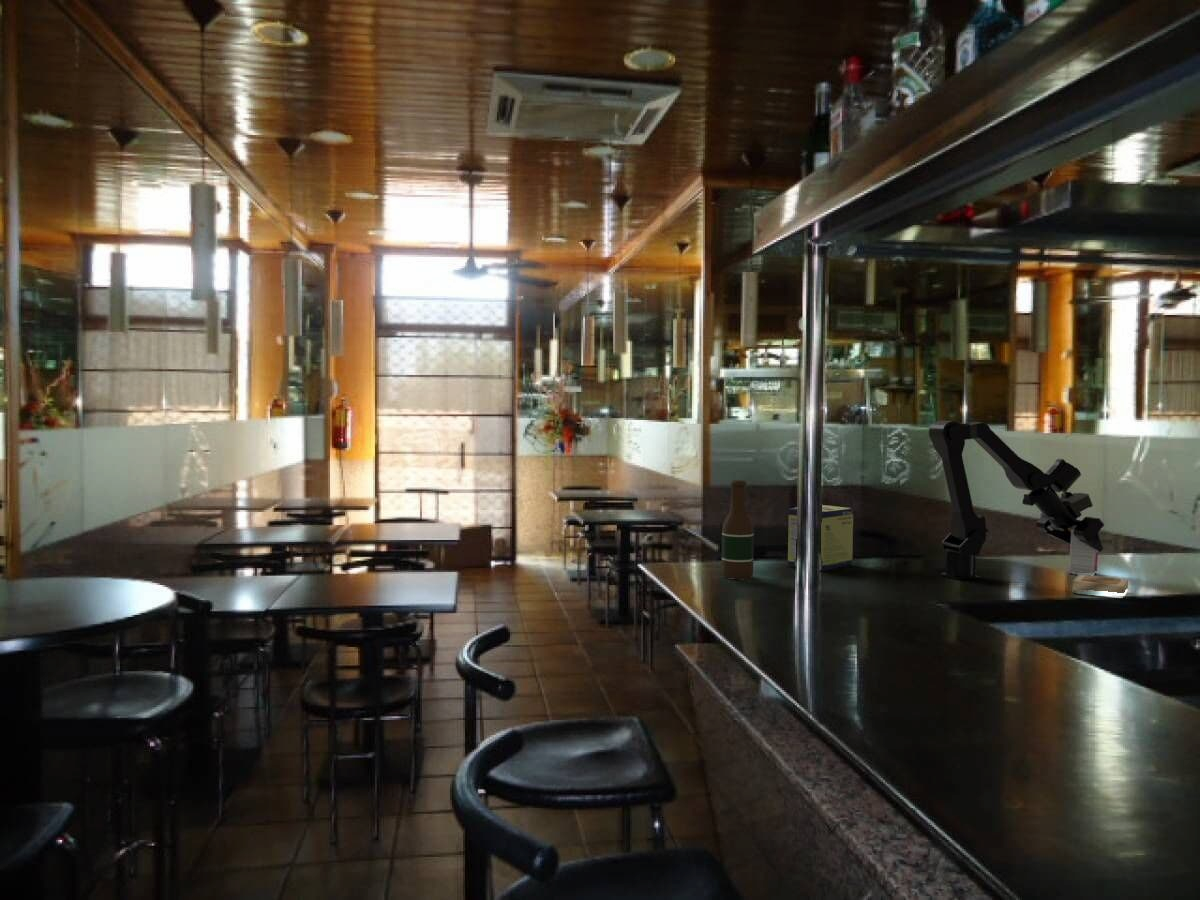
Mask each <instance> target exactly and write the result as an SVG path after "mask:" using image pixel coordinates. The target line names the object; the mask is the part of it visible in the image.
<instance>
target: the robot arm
mask: <svg viewBox="0 0 1200 900" xmlns="http://www.w3.org/2000/svg"><path fill="white" fill-rule="evenodd" d="M928 436H929V439H930V441H931V443H932V447H933V448H934V449H935V452H936V453H937V454H938V456H939V457H940V459H941V462H942V467H943V470H944V472H943V473H944V477H945V480H946V485H947V490H948V494H949V499H950V504H951V507H952V516H951V521H950V524H949V527H950V532H949V534H947V536H945V538H944V539H942V541H941V543H940V544H941V547H942V550H943V551H946V552H945V572H942V573H941V576H944V577H948V578H951V579H955V580H971V579H974V580H975V579H980V575H979V576H978V575H977V574H976V573H977V558H976V556H979V555H980V554H981V550H982V547H983V545H984V544H985V542H986V541H987V533H989V530H988V528H987V524H986V517H985V515H984V516H983V515H979V514H977V513H976V511H975V509H974V505H973V502H972V501H973V500H972V496H971V491H970V487H969V482H968V477H967V472H966V467H965V463H964V458H963V452H964V449H965V445H966V440H974V441H975V442H976V444H978V445H979V446H980V447H981V448H982V449H983V450H984V451H985V452H986V453H987V454H988V455H989V456H990V457H992V458H993V460H995V462H997V464H998V465H999V466H1000V467H1001V468H1002V469H1003V471H1004V473H1005V474H1004V475H1005V476H1006V478H1007V480H1008V481H1009V482H1010V484H1011V485H1012V486H1013V487H1014V488H1016V489H1019V490H1024V491H1025V490H1027V491H1029V492H1028V493H1024V494H1023V499H1022V505H1025V506H1031V507H1032V506H1033V507H1034V506H1035V507H1036V508H1037V509H1038V510H1039V511H1040V512H1041V513H1040V514H1039V515H1040V517H1039V519H1038V520H1036V522H1035V523H1036V524H1035V526H1036V529H1037V530H1038V531H1039V532H1040V533H1044V534H1045V535H1048V536H1049V537H1053V538H1054V539H1058V540H1059V541H1062V542H1063V543H1067V544H1069V545H1071V531H1070V530H1069V529H1071V530H1073V529H1074V535H1075V537H1076V538H1078V539H1079V541H1080V542H1082V543H1084V544H1086V545H1088V546H1090V547H1092V548H1093V549H1095V550H1097V551H1098V553H1099V552H1100V553H1101V552H1102V551H1103V550H1104V546H1103V543H1102V541H1101V538H1100V531H1101V530H1102V528H1104V526H1105V523H1104V522H1103V520H1102V519H1101V518H1099V517H1094V516H1093V517H1092V516H1085V517H1083V519H1082V520H1080V519H1079V518H1080V517H1081V516H1082V513H1081V512H1083V511H1084V510H1088V509H1090V508H1092V507H1093V506H1094V505H1093V502H1092V499H1091V497H1090V494H1089V493H1083V492H1074V493H1072V492H1071V491H1068V490H1070V488H1071V487H1072V486H1073V485H1074V484H1075V483H1076V481H1077V480H1079V479H1080V477H1081V476H1082V472H1081V471H1080V469H1078V468H1077V467H1075V466H1074V465H1072V464H1071V463H1070V462H1067V461H1066V460H1065V459H1063V458H1057V459H1056V460H1055V461H1054V462H1053V465H1052V466H1051V467H1050V468H1049V469H1048V470H1047V471H1046V472H1044V471H1043V470H1042V469H1040V468H1039V467H1038V466H1036V465H1034V464H1033V463H1032V462H1029V461H1027V460H1025V459H1023V458H1022V457H1020V456H1019V455H1018V454H1016V452H1015V451H1014V450H1013V449H1011V447H1010V446H1008V445H1007V444H1006V443H1005V441H1003V440H1002V439H1001V438H1000V437H999V436H998V435H997V434H996V433H995V431H993V430H992V428H991V427H990V426H989V425H988V424H987V423H986V422H983V421H981V422H980V421H973V422H967V423H966V422H965V423H959V422H958V421H954V420H938V421H935V422H933V424H931V426H930V427H929V429H928ZM1058 493H1061V494H1060V496H1059V494H1058ZM1098 532H1099V534H1098Z"/></svg>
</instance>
